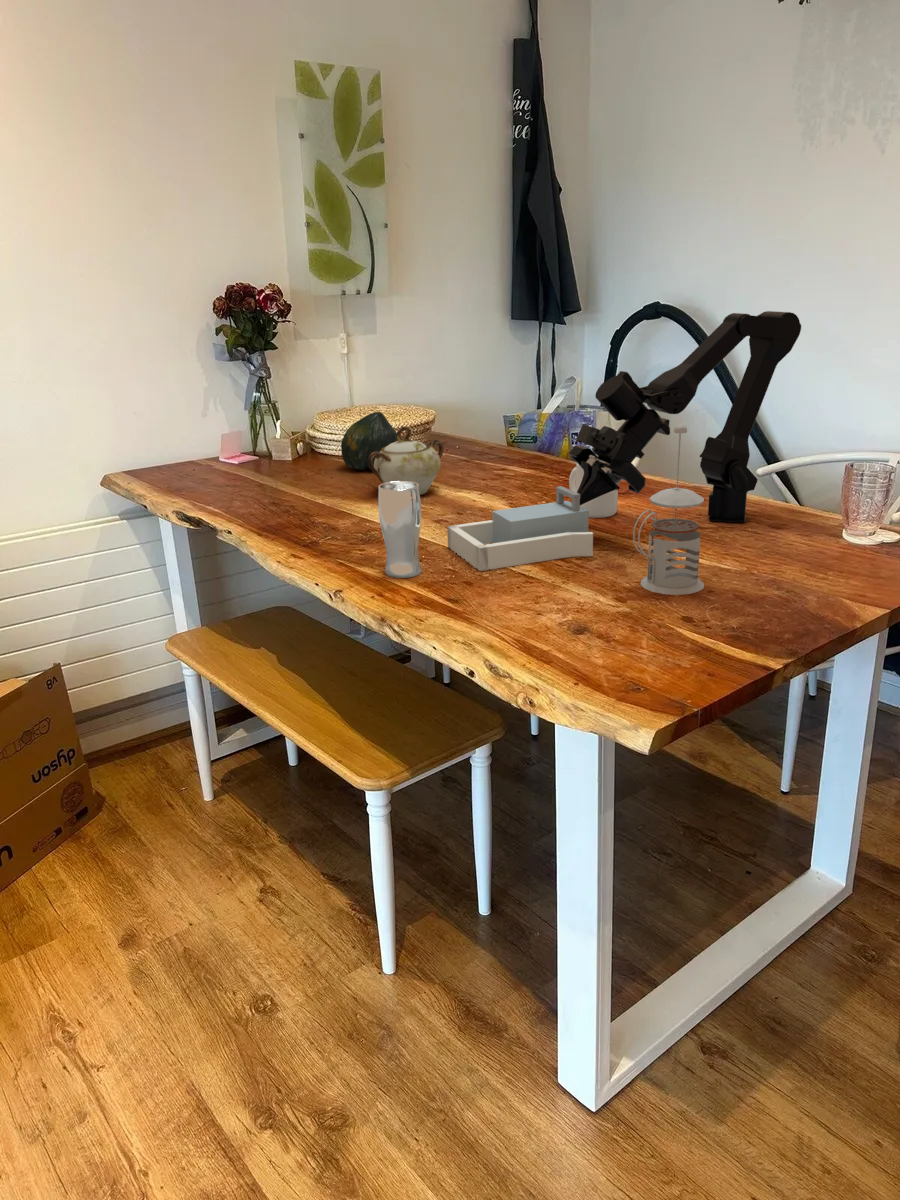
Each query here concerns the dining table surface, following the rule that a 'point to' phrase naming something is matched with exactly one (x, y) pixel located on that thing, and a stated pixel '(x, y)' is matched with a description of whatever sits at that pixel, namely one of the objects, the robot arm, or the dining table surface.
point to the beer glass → (400, 527)
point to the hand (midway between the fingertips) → (575, 504)
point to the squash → (366, 440)
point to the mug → (599, 505)
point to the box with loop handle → (541, 518)
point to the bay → (513, 546)
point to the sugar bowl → (407, 461)
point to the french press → (673, 542)
